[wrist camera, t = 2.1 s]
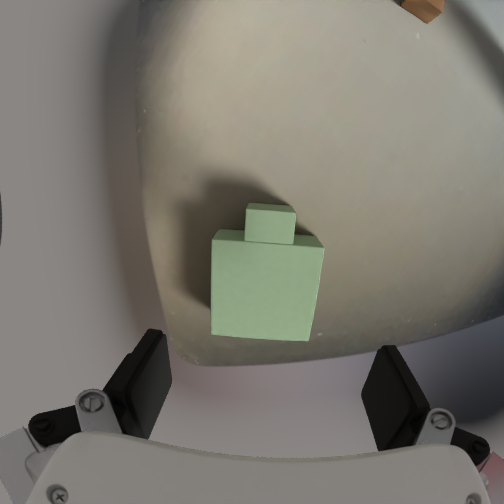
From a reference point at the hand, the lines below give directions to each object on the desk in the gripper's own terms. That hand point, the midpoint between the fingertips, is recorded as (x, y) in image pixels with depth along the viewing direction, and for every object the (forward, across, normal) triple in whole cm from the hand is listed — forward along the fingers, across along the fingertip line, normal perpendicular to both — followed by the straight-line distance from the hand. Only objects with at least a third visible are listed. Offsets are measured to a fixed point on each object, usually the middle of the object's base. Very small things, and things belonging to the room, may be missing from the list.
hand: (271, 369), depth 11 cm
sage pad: (+10, 0, 0) cm, 10 cm away
